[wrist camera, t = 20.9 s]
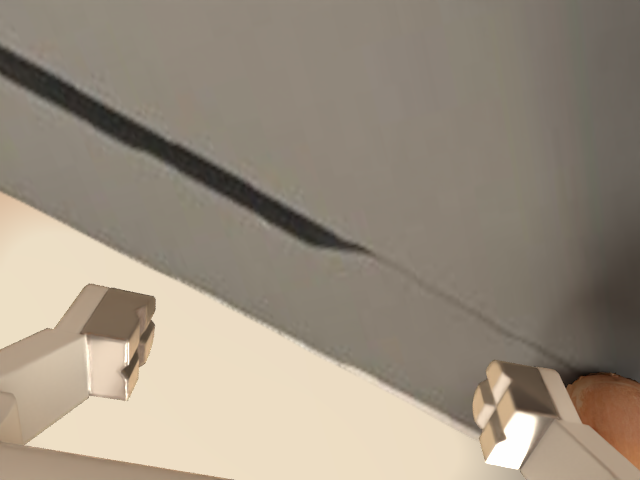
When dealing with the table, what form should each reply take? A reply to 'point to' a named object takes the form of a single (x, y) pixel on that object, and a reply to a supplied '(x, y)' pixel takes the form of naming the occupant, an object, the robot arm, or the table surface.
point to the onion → (610, 410)
